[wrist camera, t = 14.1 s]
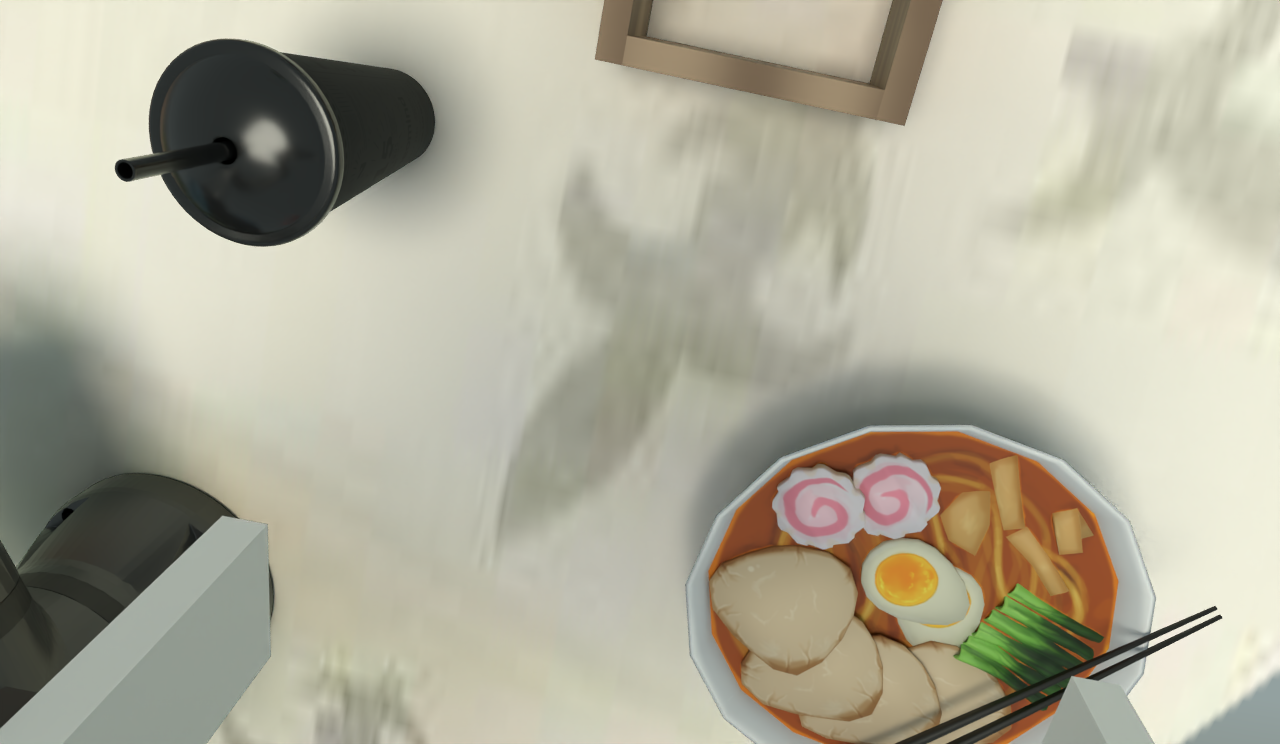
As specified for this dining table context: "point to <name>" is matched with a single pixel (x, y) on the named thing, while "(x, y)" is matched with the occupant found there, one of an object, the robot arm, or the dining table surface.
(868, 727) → the ramen bowl
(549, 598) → the dining table surface
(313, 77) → the drinking cup
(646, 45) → the holder
